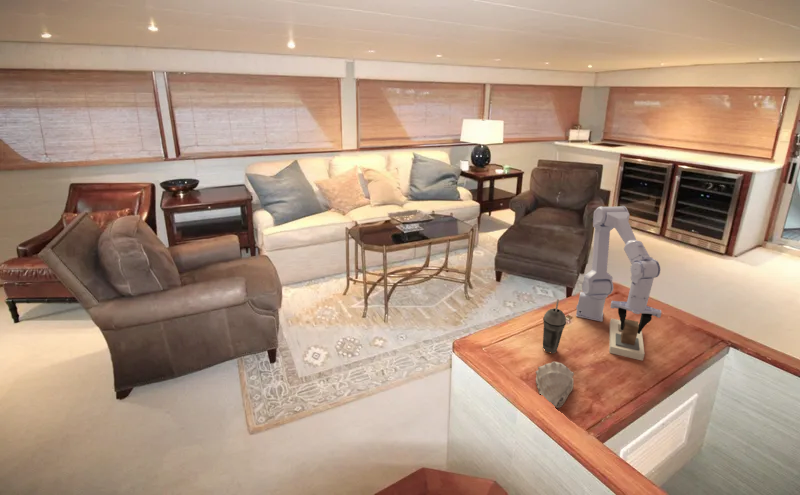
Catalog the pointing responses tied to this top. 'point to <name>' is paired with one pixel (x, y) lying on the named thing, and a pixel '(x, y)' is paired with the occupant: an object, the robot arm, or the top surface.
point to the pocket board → (624, 351)
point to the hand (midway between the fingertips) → (630, 330)
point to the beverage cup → (553, 328)
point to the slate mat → (619, 343)
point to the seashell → (554, 382)
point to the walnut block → (629, 332)
